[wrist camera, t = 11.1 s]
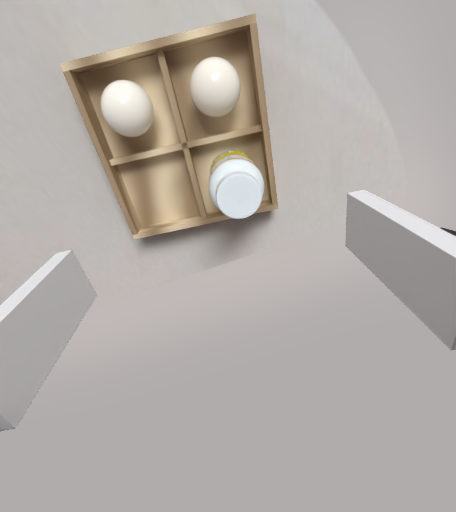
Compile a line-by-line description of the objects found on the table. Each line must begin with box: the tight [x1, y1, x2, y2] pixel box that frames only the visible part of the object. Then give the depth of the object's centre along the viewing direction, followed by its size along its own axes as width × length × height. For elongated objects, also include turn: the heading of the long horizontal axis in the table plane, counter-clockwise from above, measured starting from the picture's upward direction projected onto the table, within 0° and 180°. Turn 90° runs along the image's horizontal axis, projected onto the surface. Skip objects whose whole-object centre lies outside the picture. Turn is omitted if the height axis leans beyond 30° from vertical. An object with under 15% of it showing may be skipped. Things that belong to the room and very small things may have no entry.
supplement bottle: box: [209, 150, 264, 219], centre depth 27 cm, size 5×5×10 cm
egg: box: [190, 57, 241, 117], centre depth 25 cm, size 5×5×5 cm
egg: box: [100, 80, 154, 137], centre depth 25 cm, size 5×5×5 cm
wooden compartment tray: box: [60, 14, 278, 239], centre depth 29 cm, size 18×18×3 cm
